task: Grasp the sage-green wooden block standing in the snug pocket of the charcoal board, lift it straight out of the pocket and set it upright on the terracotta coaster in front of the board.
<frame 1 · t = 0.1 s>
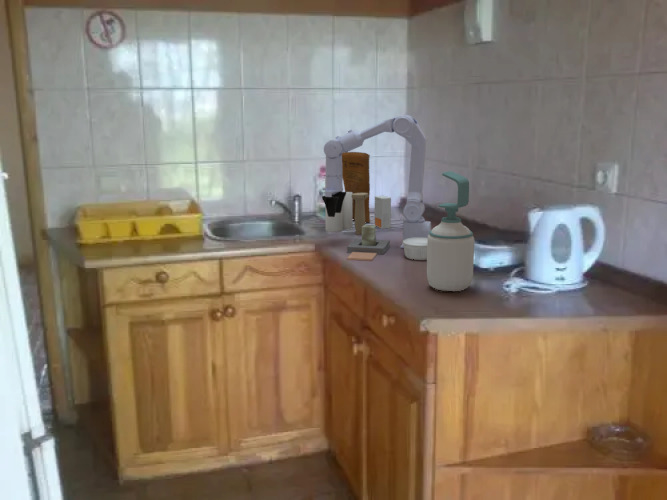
hand: (334, 214, 238), 10 cm above the table, fingers open, 7 cm apart
pair of white cylinders: (338, 229, 263), on the table
pocket board: (368, 249, 230), on the table
ramekin: (420, 257, 220), on the table
soap bottle: (449, 288, 186), on the table
skincare box: (382, 227, 266), on the table
handle: (359, 234, 254), on the table
pancake mix bag: (356, 220, 281), on the table
coaster: (362, 257, 220), on the table
sage block: (368, 237, 229), in the pocket board
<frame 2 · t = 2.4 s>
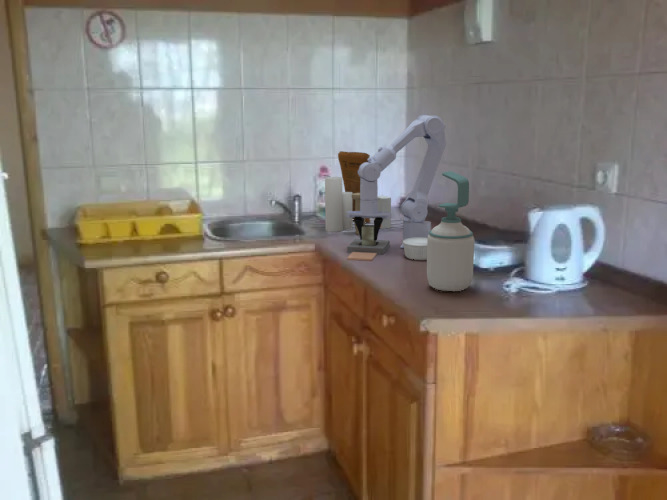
hand: (368, 239, 230), 3 cm above the table, fingers closed on sage block, 4 cm apart
sage block: (368, 237, 229), in the pocket board, touching gripper
everything else where it was.
when the fingers open (6 cm above the table, at t = 6.4 s): sage block drops 2 cm, resting on coaster.
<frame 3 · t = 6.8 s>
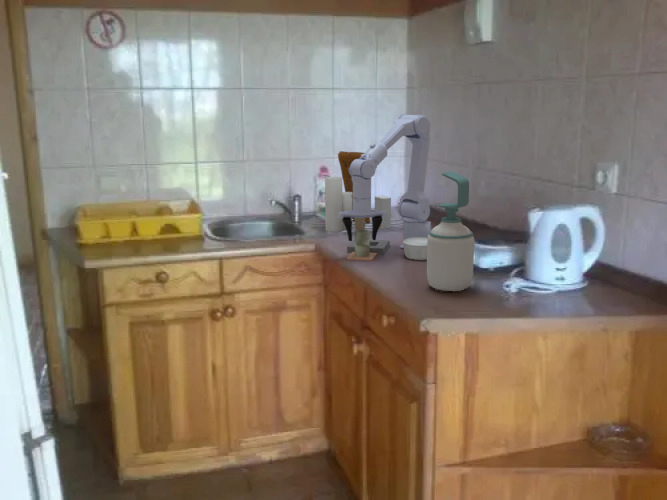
hand: (362, 240, 219), 6 cm above the table, fingers open, 7 cm apart
sage block: (362, 243, 219), on the coaster, point 5 cm above the table
everything else where it was.
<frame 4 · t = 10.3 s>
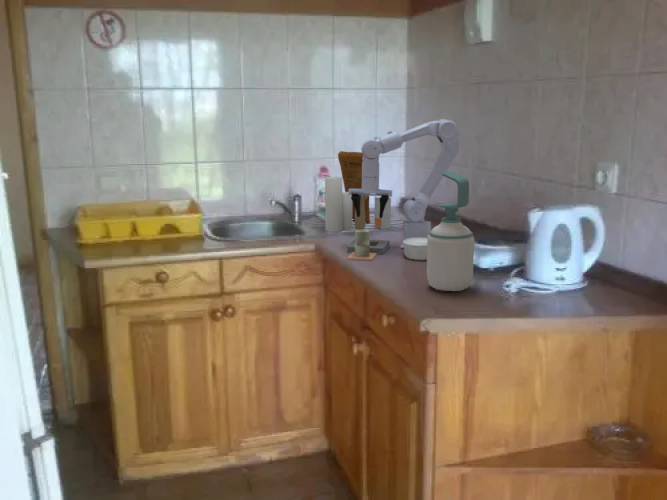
hand: (369, 217, 231), 10 cm above the table, fingers open, 7 cm apart
nothing on the table moved.
at the end: sage block 0.2 cm off-centre on the coaster, point 4.6 cm above the coaster's base; sage block tilted 0°; the gripper is holding nothing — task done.
